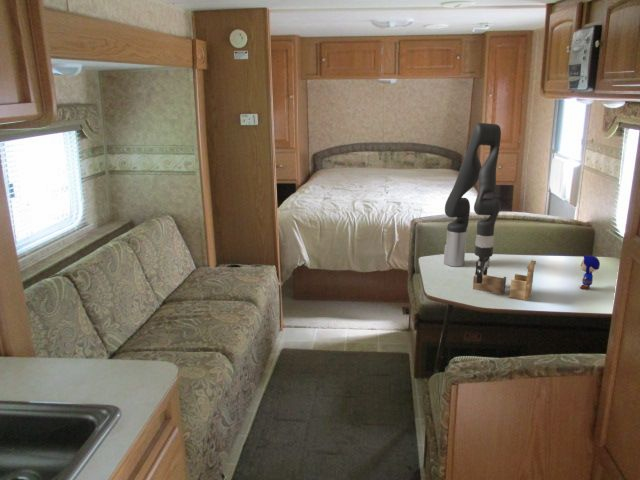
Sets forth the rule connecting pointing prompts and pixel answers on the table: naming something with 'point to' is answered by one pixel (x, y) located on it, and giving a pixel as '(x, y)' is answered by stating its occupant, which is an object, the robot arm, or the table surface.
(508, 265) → the table surface
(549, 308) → the table surface
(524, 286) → the wooden chair
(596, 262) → the toy
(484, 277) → the light brown wooden block
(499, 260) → the table surface
